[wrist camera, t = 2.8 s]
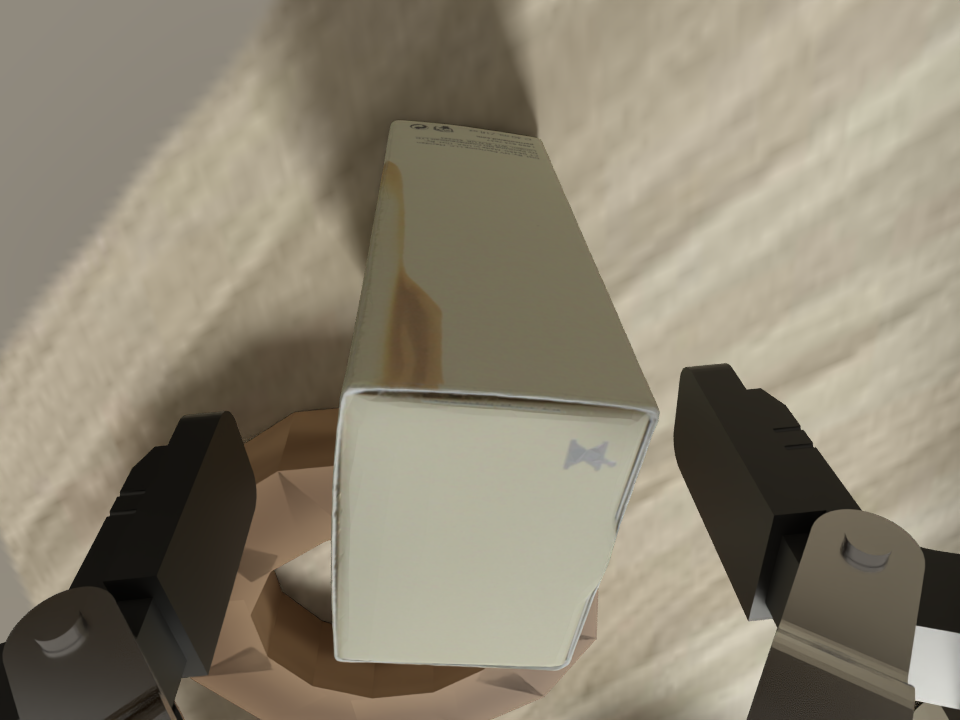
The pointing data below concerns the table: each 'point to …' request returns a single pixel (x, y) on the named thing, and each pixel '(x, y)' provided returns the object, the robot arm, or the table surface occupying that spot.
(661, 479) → the table surface
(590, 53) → the table surface
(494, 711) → the walnut ring
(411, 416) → the skincare box
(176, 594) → the robot arm
